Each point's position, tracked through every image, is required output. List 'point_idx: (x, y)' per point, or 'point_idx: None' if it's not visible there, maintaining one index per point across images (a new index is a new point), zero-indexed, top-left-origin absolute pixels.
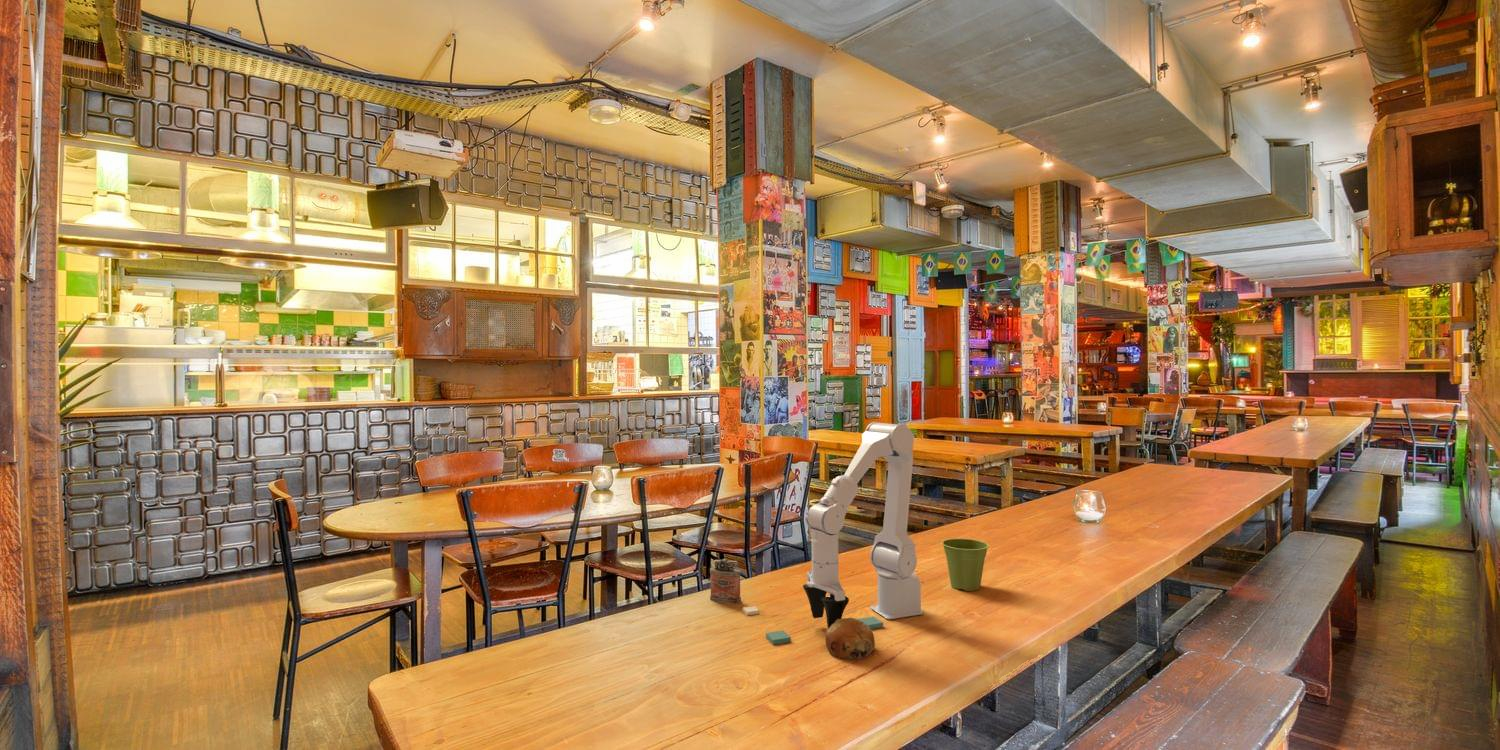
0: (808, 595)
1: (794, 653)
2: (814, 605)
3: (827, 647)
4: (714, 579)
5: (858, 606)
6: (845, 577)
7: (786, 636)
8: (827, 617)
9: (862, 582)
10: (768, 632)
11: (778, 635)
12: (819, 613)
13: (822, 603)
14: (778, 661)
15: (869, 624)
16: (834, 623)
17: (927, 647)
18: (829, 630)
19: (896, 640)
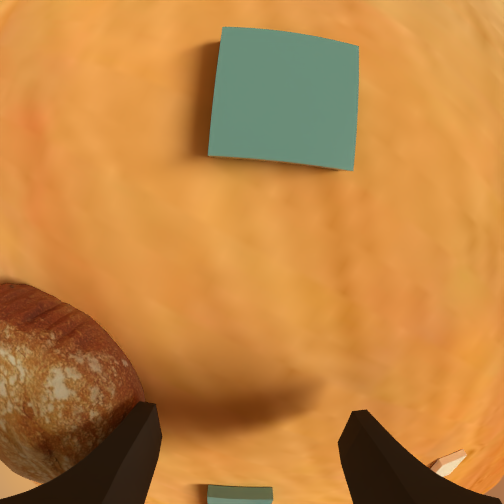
0: (433, 499)
1: (70, 117)
2: (377, 469)
3: (41, 298)
4: None
5: None
6: (481, 474)
7: (233, 131)
8: (108, 454)
9: None
10: (357, 60)
11: (280, 88)
12: (347, 448)
13: (358, 498)
14: (49, 29)
15: (210, 500)
16: (22, 417)
17: None
18: (5, 358)
19: None
